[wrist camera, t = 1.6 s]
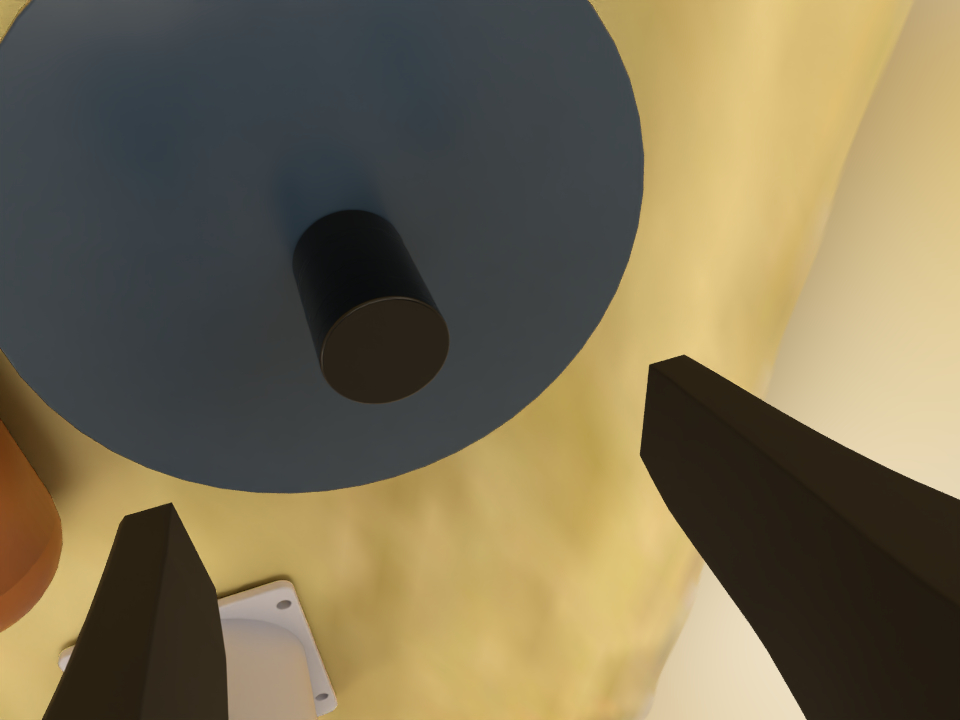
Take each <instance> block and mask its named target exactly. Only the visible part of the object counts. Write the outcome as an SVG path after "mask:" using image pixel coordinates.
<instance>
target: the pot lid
mask: <svg viewBox="0 0 960 720" xmlns="http://www.w3.org/2000/svg"><path fill="white" fill-rule="evenodd" d="M643 181H644V151H643V142H642V133H641V125H640V117H639V113H638V109H637V105H636V101H635V97H634V93H633V90H632V86H631V82H630V78H629V76H628V74H627V71H626V69H625V66H624V64H623V62H622V59H621V57H620V54H619V52H618V50H617V47H616V45H615V42H614V41H613V39H612V37H611V36H610V34H609V32H608V31H607V29H606V27H605V26H604V24H603V22H602V21H601V19H600V17H599V16H598V14H597V12H596V11H595V9H594V7H593V6H592V5H591V3H590V2H589V1H588V0H28V1H27V2H26V3H25V4H24V6H23V7H22V8H21V9H20V10H19V11H18V13H17V15H16V16H15V18H14V20H13V21H12V23H11V24H10V26H9V28H8V29H7V31H6V32H5V34H4V36H3V37H2V39H1V40H0V349H1V350H2V351H3V353H4V354H5V356H6V357H7V358H8V360H9V361H10V363H11V364H12V365H13V367H14V368H15V370H16V371H17V372H18V374H19V375H20V377H21V378H22V379H23V380H24V381H25V382H26V383H27V384H28V385H29V386H30V387H31V388H32V389H33V390H34V391H35V392H36V393H37V394H38V396H39V397H40V398H41V399H42V400H43V401H44V402H45V403H46V404H47V405H48V406H49V407H50V408H51V409H53V410H54V411H55V412H56V413H58V414H59V415H60V416H61V417H63V418H64V419H65V420H66V421H68V422H69V423H70V424H71V425H73V426H74V427H75V428H76V429H78V430H79V431H80V432H82V433H83V434H85V435H87V436H88V437H90V438H92V439H93V440H95V441H96V442H98V443H100V444H101V445H103V446H105V447H106V448H108V449H109V450H111V451H113V452H115V453H117V454H119V455H121V456H123V457H125V458H127V459H130V460H132V461H134V462H136V463H138V464H140V465H143V466H145V467H147V468H149V469H152V470H155V471H158V472H161V473H164V474H167V475H170V476H173V477H176V478H179V479H182V480H185V481H190V482H194V483H199V484H203V485H208V486H212V487H217V488H222V489H231V490H239V491H247V492H255V493H306V492H320V491H330V490H337V489H343V488H349V487H355V486H361V485H365V484H369V483H373V482H377V481H381V480H385V479H389V478H393V477H396V476H399V475H402V474H405V473H408V472H411V471H413V470H416V469H419V468H422V467H425V466H427V465H430V464H432V463H434V462H436V461H438V460H441V459H443V458H445V457H447V456H450V455H452V454H454V453H456V452H458V451H460V450H462V449H463V448H465V447H467V446H469V445H471V444H472V443H474V442H476V441H478V440H480V439H481V438H483V437H485V436H486V435H488V434H489V433H491V432H492V431H494V430H495V429H497V428H498V427H500V426H501V425H503V424H504V423H505V422H507V421H508V420H510V419H511V418H513V417H514V416H515V415H516V414H518V413H519V412H520V411H521V410H522V409H524V408H525V407H526V406H527V405H529V404H530V403H531V402H532V401H533V400H535V399H536V398H537V397H538V396H539V395H540V394H541V393H542V392H543V391H544V390H545V389H546V388H547V387H548V386H549V385H550V384H551V383H552V382H553V381H554V380H555V379H556V378H557V377H558V376H559V375H560V374H561V373H562V372H563V371H564V370H565V368H566V367H567V366H568V365H569V364H570V362H571V361H572V360H573V359H574V358H575V356H576V355H577V354H578V353H579V352H580V350H581V349H582V348H583V346H584V345H585V343H586V342H587V340H588V339H589V337H590V336H591V334H592V333H593V332H594V330H595V329H596V327H597V326H598V324H599V323H600V321H601V319H602V317H603V316H604V314H605V312H606V310H607V308H608V306H609V304H610V302H611V301H612V299H613V297H614V295H615V293H616V291H617V289H618V286H619V284H620V281H621V279H622V276H623V274H624V271H625V269H626V266H627V264H628V261H629V258H630V255H631V251H632V247H633V244H634V240H635V236H636V232H637V229H638V224H639V217H640V210H641V204H642V197H643Z"/></svg>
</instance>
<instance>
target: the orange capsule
mask: <svg viewBox="0 0 960 720" xmlns="http://www.w3.org/2000/svg"><path fill="white" fill-rule="evenodd" d="M62 545H63V543H62V527H61V520H60V517H59V514H58V512H57V509H56V507H55V505H54V502H53V500H52V496H51V495H50V493H49V492H48V490H47V489H46V487H45V486H44V484H43V483H42V481H41V480H40V478H39V477H38V475H37V474H36V472H35V471H34V469H33V468H32V466H31V464H30V463H29V461H28V460H27V458H26V457H25V455H24V454H23V452H22V451H21V449H20V448H19V446H18V445H17V443H16V442H15V440H14V439H13V437H12V436H11V434H10V432H9V431H8V429H7V428H6V426H5V425H4V423H3V422H2V420H1V419H0V632H2V631H4V630H6V629H7V628H8V627H10V626H11V625H13V624H14V623H16V622H17V621H18V620H20V619H21V618H22V617H23V616H24V615H25V614H26V613H28V612H29V611H30V610H31V609H32V608H33V606H34V605H35V604H36V603H37V602H38V601H39V600H40V598H41V597H42V595H43V594H44V592H45V591H46V589H47V588H48V586H49V585H50V583H51V581H52V579H53V577H54V575H55V573H56V570H57V568H58V564H59V559H60V555H61V550H62Z"/></svg>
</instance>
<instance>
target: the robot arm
mask: <svg viewBox="0 0 960 720" xmlns="http://www.w3.org/2000/svg"><path fill="white" fill-rule="evenodd" d="M640 456H641V458H642V460H643V462H644V464H645V466H646V468H647V470H648V472H649V474H650V476H651V478H652V480H653V482H654V484H655V486H656V487H657V489H658V491H659V493H660V495H661V496H662V498H663V500H664V502H665V504H666V506H667V507H668V509H669V511H670V512H671V514H672V515H673V517H674V518H675V519H676V521H677V522H678V524H679V525H680V527H681V528H682V529H683V531H684V532H685V534H686V535H687V537H688V538H689V539H690V541H691V542H692V544H693V545H694V547H695V548H696V549H697V551H698V552H699V554H700V555H701V556H702V558H703V559H704V561H705V562H706V563H707V565H708V566H709V568H710V569H711V570H712V572H713V573H714V575H715V576H716V577H717V579H718V580H719V581H720V583H721V584H722V586H723V587H724V588H725V590H726V591H727V593H728V594H729V595H730V597H731V598H732V600H733V601H734V602H735V604H736V605H737V607H738V608H739V609H740V610H741V612H742V614H743V615H744V616H745V618H746V619H747V621H748V622H749V623H750V625H751V626H752V628H753V629H754V631H755V633H756V634H757V635H758V637H759V639H760V640H761V642H762V643H763V645H764V646H765V648H766V649H767V651H768V652H769V654H770V656H771V658H772V660H773V661H774V663H775V665H776V666H777V668H778V670H779V672H780V673H781V675H782V677H783V679H784V680H785V682H786V684H787V685H788V687H789V689H790V691H791V693H792V694H793V696H794V698H795V699H796V701H797V703H798V705H799V707H800V708H801V710H802V712H803V714H804V716H805V718H806V719H807V720H960V500H959V499H957V498H954V497H952V496H950V495H947V494H945V493H943V492H940V491H938V490H935V489H933V488H931V487H929V486H926V485H924V484H922V483H919V482H917V481H914V480H912V479H910V478H908V477H906V476H903V475H902V474H899V473H897V472H895V471H893V470H891V469H889V468H887V467H885V466H883V465H881V464H879V463H876V462H875V461H873V460H870V459H869V458H867V457H865V456H863V455H861V454H859V453H857V452H855V451H853V450H851V449H849V448H846V447H845V446H843V445H841V444H839V443H837V442H835V441H834V440H831V439H830V438H828V437H826V436H824V435H822V434H820V433H819V432H817V431H815V430H813V429H811V428H810V427H808V426H806V425H804V424H802V423H800V422H799V421H797V420H795V419H793V418H792V417H790V416H788V415H786V414H785V413H783V412H781V411H780V410H778V409H776V408H774V407H772V406H771V405H769V404H767V403H766V402H764V401H762V400H761V399H759V398H757V397H756V396H754V395H752V394H751V393H749V392H747V391H746V390H744V389H742V388H740V387H739V386H737V385H735V384H734V383H732V382H730V381H729V380H727V379H725V378H724V377H722V376H720V375H719V374H717V373H715V372H714V371H712V370H710V369H709V368H707V367H705V366H703V365H702V364H700V363H698V362H697V361H695V360H693V359H691V358H689V357H688V356H686V355H681V356H678V357H674V358H671V359H667V360H664V361H661V362H657V363H654V364H650V365H649V373H648V382H647V392H646V401H645V411H644V421H643V430H642V440H641V449H640ZM58 665H59V668H60V669H61V670H62V671H63V672H64V673H63V675H62V677H61V680H60V682H59V684H58V686H57V689H56V691H55V693H54V695H53V697H52V699H51V701H50V703H49V706H48V708H47V710H46V712H45V714H44V716H43V718H42V720H317V717H318V716H321V715H324V714H327V713H329V712H331V711H333V710H334V709H335V708H336V707H337V699H336V695H335V692H334V690H333V687H332V685H331V682H330V679H329V677H328V674H327V672H326V669H325V667H324V664H323V661H322V659H321V656H320V654H319V651H318V648H317V646H316V643H315V641H314V638H313V635H312V633H311V630H310V628H309V625H308V622H307V620H306V617H305V615H304V612H303V609H302V607H301V604H300V602H299V599H298V596H297V594H296V591H295V589H294V586H293V584H292V583H291V582H289V581H287V580H279V581H275V582H271V583H268V584H265V585H262V586H259V587H256V588H253V589H249V590H246V591H243V592H240V593H237V594H234V595H231V596H227V597H224V598H221V599H218V600H217V594H216V589H215V587H214V585H213V583H212V581H211V579H210V577H209V575H208V573H207V571H206V569H205V567H204V565H203V563H202V561H201V559H200V557H199V555H198V553H197V551H196V549H195V547H194V545H193V543H192V541H191V539H190V537H189V535H188V533H187V531H186V529H185V527H184V525H183V523H182V521H181V519H180V518H179V516H178V514H177V512H176V510H175V508H174V506H173V504H172V503H168V504H165V505H161V506H158V507H154V508H151V509H148V510H144V511H141V512H137V513H134V514H130V515H127V516H125V517H124V518H123V520H122V521H121V523H120V524H119V527H118V530H117V533H116V536H115V539H114V542H113V545H112V548H111V551H110V554H109V557H108V560H107V563H106V566H105V569H104V572H103V574H102V577H101V580H100V583H99V585H98V588H97V591H96V593H95V596H94V599H93V601H92V604H91V607H90V609H89V612H88V614H87V617H86V620H85V622H84V624H83V627H82V629H81V632H80V634H79V636H78V639H77V641H76V644H75V645H73V646H70V647H68V648H66V649H64V650H63V651H62V652H60V654H59V659H58Z"/></svg>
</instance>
